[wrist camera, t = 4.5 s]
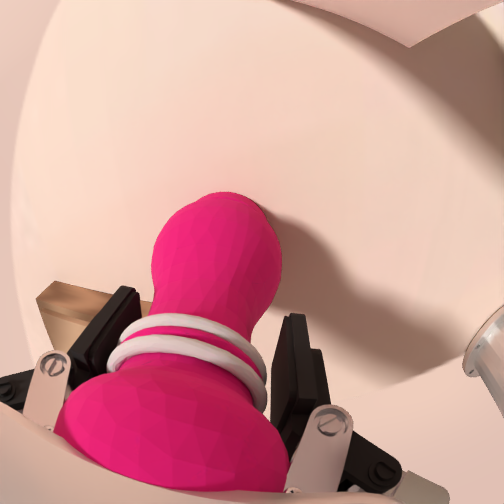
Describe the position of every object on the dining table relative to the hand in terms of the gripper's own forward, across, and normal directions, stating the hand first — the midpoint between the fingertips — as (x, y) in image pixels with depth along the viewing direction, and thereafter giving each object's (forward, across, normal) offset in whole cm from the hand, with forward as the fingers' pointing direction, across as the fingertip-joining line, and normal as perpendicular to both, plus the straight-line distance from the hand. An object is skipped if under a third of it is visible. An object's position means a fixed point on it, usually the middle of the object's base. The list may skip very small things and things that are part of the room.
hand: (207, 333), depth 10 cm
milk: (+10, -5, -23) cm, 26 cm away
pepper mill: (+10, +1, 0) cm, 10 cm away
